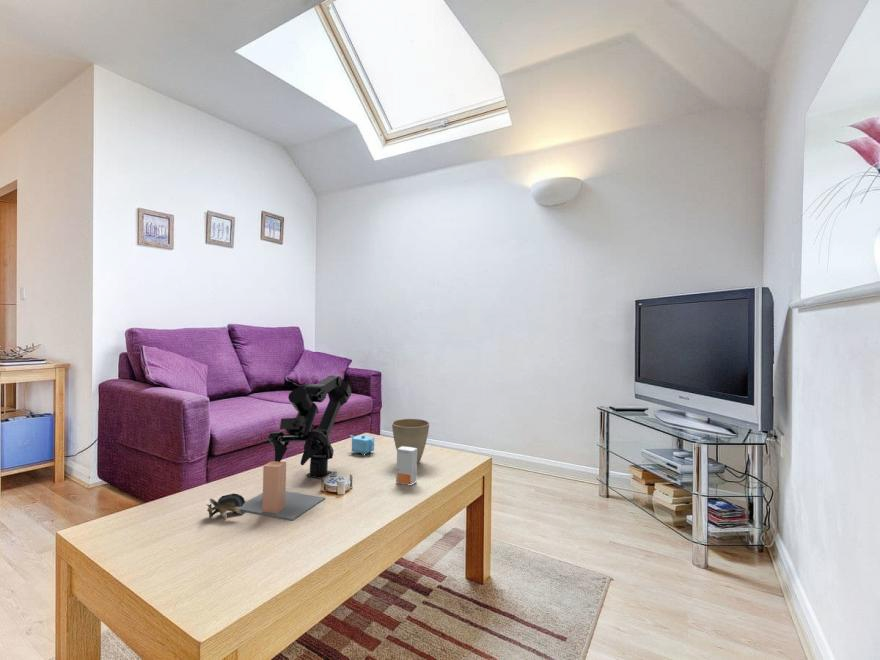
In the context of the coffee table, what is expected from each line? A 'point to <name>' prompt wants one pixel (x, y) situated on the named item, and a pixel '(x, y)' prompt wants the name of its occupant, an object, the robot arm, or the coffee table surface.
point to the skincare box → (406, 465)
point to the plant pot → (411, 434)
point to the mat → (293, 505)
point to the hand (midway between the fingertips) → (288, 464)
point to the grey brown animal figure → (226, 505)
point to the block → (274, 486)
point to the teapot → (362, 444)
